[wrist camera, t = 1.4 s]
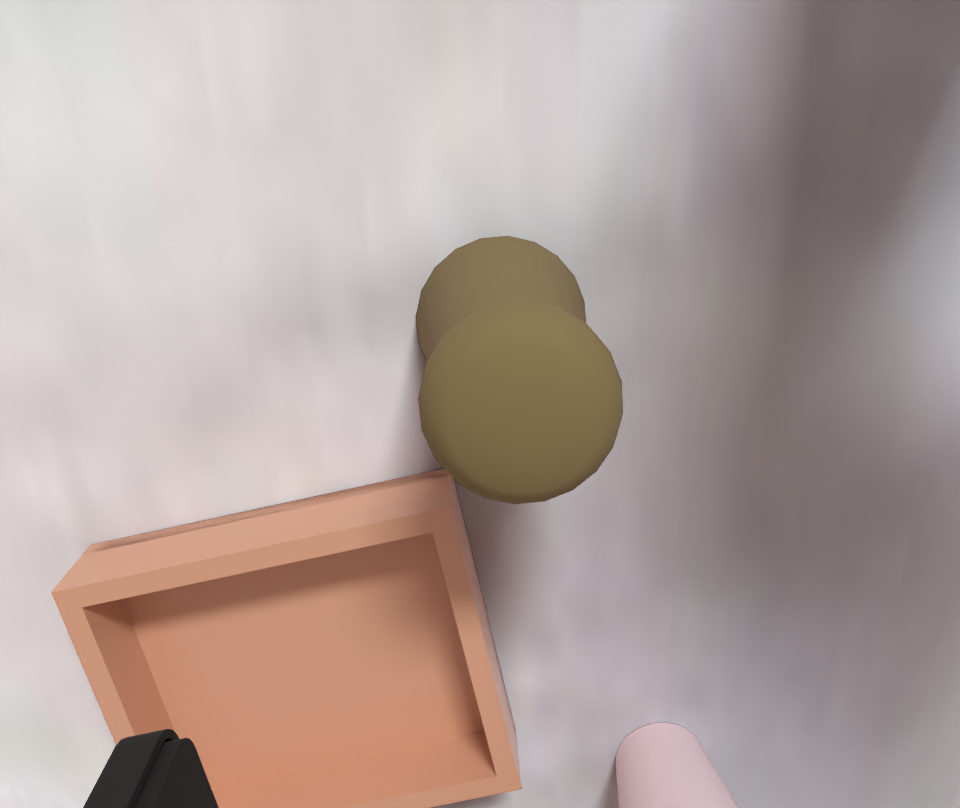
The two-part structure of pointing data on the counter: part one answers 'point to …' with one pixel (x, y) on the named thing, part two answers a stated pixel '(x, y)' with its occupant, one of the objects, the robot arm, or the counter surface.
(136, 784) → the robot arm
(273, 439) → the counter surface
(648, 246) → the counter surface
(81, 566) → the terracotta tray
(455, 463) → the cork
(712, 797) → the smoothie
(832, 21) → the counter surface
